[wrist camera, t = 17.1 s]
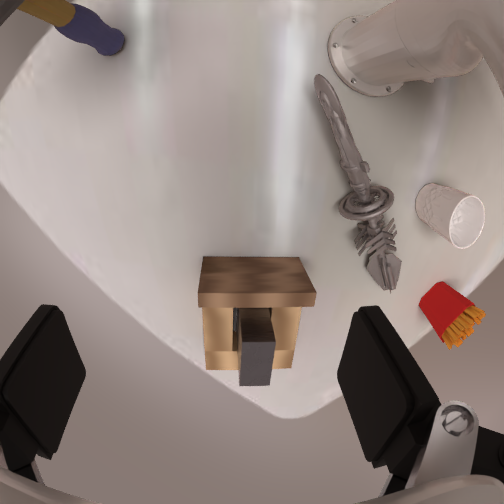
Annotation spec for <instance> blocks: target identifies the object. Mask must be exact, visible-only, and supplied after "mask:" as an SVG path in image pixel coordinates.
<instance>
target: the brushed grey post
mask: <svg viewBox="0 0 504 504" xmlns="http://www.w3.org/2000/svg"><path fill="white" fill-rule="evenodd" d="M236 337H237V354H238V370H239V386H266V385H270V378H271V372H272V366H273V359H274V352H275V346H276V339H275V335H274V330H273V326H272V321H271V317H270V312H269V308H237V314H236Z"/></svg>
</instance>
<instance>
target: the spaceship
mask: <svg viewBox="0 0 504 504" xmlns="http://www.w3.org/2000/svg"><path fill="white" fill-rule="evenodd" d="M314 84H315V89H316V93H317V96H318V98H319V101H320V103H321V105H322V107H323V109H324V111H325V113H326V116H327V118H328V120H329V121H330V124H331V126H332V130H333V133H334V137H335V139H336V142H337V144H338V147H339V150H340V154H341V158H342V160H341V161H340V165H341V167H342V169H345V171H346V172H347V174H348V176H349V179H350V182H349V184H350V186H351V187H352V188H353V190H354V191H353V192H351V193H350V194H348V195H347V196H346V197H345V198H344V199H343V200H342V201H341V203H340V205H339V212H340V214H341V215H342V216H343V217H345V218H347V219H350V220H362V221H366V220H368V222H369V224H367V225H363V224H359V223H358V224H357V225H358V227H359V228H362V229H363V230H361V229H360V230H359V231H360V234H359V235H358V237H357V238H356V239H355V241H354V242H355V244H356V243H357V242H358V240H359V239H360V238H361V237H362V240H361V241H360V243H359V244H358V245H357V247H356V248H357V250H358V249H359V248H360V246H361V245H362V244H363V243H364V242H365V240H366V241H367V242H366V243H365V245H364V246H363V247H362V249H361V250H360V251H359V253H358V254H359V256H360V255H361V253H362V252H363V251H364V250H365V248H367V247H369V246H370V245H372V246H373V247H372V248H371V249H369V250H368V251H367V253H368V254H370V253H371V252H372V251H374V250H375V249H376V252H375V253H374V254H373V255H371V256H370V257H369V260H370V261H369V263H368V265H367V268H366V269H367V270H368V272H369V273H370V274H371V276H372V277H373V278H374V280H375V281H376V282H377V284H378V285H380V286H381V287H382V289H383V290H388V289H389V290H390V293H391V290H394V289H396V284H397V282H398V278H399V273H400V268H401V262H402V261H401V260H400V259H398V258H397V257H396V256H395V255H394V254H392V253H390V254H386V253H385V251H384V250H385V249H391V250H394V251H396V247H394V246H392V245H390V244H393V245H394V244H395V241H393V238H394V237H395V235H396V234H397V231H395V232H394V234H391V233H392V232H393V230H394V229H395V224H394V225H393V227H392V228H391V230H390V231H389V232H387V231H388V229H389V228H390V226H391V225H392V223H393V222H394V218H392V220H391V221H390V222H389V224H388V225H387V226H386V227H384V228H383V229H382V228H381V226H383V225H384V224H385V222H384V221H383V222H381V223H380V224H377V222H378V221H380V220H381V219H382V218H383V215H381V216H380V214H382V213H384V212H385V211H387V210H388V209H389V208H390V207H391V205H392V204H393V201H394V194H393V192H392V191H391V190H390V189H388V188H386V187H383V186H370V182H371V180H370V179H369V177H368V176H367V173H366V172H369V171H370V168H369V165H368V163H367V162H366V161H363V160H362V158H361V155H360V153H359V151H358V149H357V147H356V146H355V143H354V140H353V137H352V134H351V132H350V129H349V126H348V124H347V122H346V117H345V114H344V112H343V109H342V107H341V104H340V102H339V99H338V96H337V94H336V93H335V91H334V89H333V87H332V86H331V84H330V83H329V82H328V81H327V80H326V79H325V78H324V77H323V76H322V75H320V74H317V75H315V78H314ZM371 194H373V195H371ZM375 196H378V197H377V198H379V197H380V198H379V199H377V201H375V200H373V199H376V198H374V197H375ZM355 200H356V201H358V202H361V203H357V204H359V205H357V206H359V207H355V206H353V205H355V204H354V203H355V202H356V201H355ZM372 200H373V201H372ZM354 201H355V202H354ZM346 202H347V203H346ZM345 204H346V205H345ZM363 235H365V236H363ZM388 238H390V239H388ZM377 255H378V256H377ZM390 287H391V288H390Z"/></svg>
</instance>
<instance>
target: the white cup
mask: <svg viewBox="0 0 504 504" xmlns="http://www.w3.org/2000/svg"><path fill="white" fill-rule="evenodd" d="M415 209H416V212H417V215H418V217H419V218H420V219H421V220H422V221H423V222H425V223H426V224H428V226H429V227H431V228H432V229H433V230H435V231H436V232H437V233H438V234H440V235H441V236H442V237H444V238H445V239H446V240H448V241H449V242H450V243H452V244H453V245H454V246H455V247H457V248H460V249H464V248H467V247H469V246H471V245H472V244H473V243H474V242H475V241H476V240H477V239H478V237H479V236H480V234H481V232H482V229H483V226H484V222H485V209H484V205H483V203H482V201H481V200H480V199H479V198H478V197H476V196H474V195H471V194H468V193H465V192H462V191H460V190H457V189H453V188H450V187H447V186H441V185H438V184H434V183H431V184H428V185H425V186H424V187H423V188H422V189H421V190H420V191H419V194H418V196H417V198H416V207H415Z"/></svg>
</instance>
